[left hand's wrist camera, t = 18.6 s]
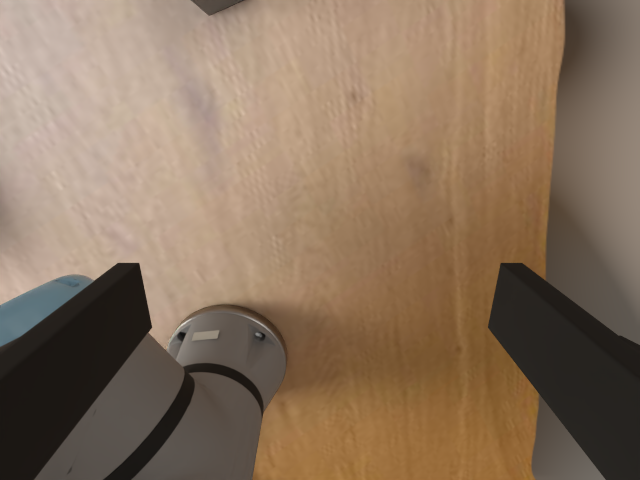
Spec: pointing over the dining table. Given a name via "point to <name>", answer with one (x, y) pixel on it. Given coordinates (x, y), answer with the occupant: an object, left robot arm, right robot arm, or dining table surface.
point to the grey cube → (214, 5)
